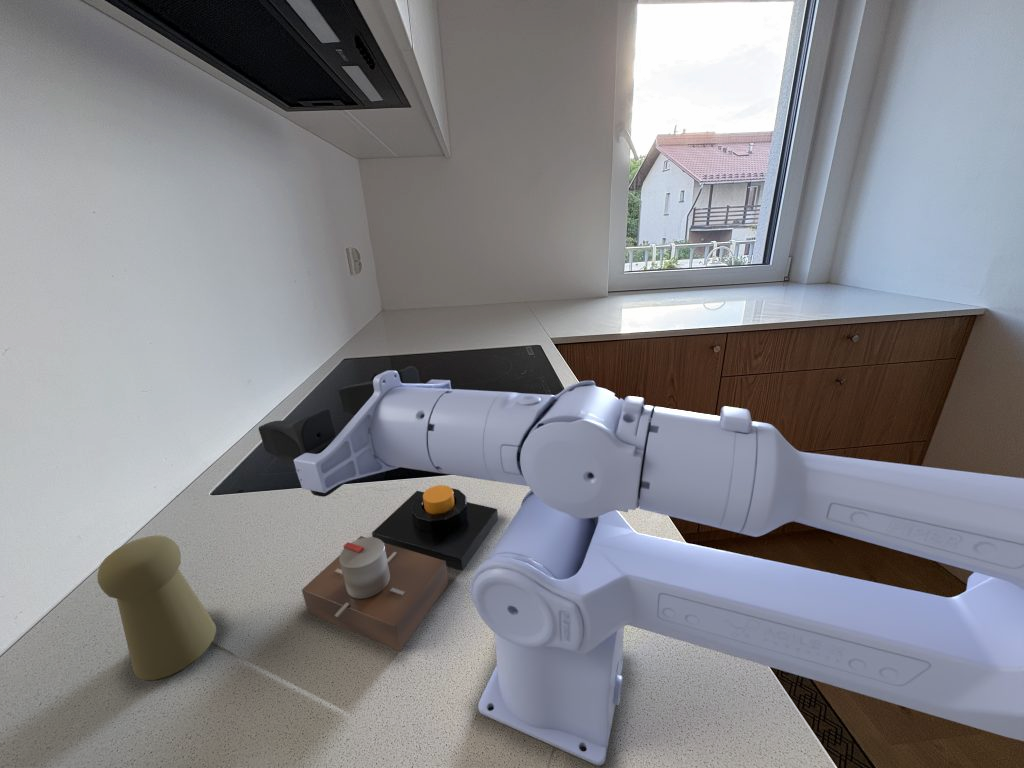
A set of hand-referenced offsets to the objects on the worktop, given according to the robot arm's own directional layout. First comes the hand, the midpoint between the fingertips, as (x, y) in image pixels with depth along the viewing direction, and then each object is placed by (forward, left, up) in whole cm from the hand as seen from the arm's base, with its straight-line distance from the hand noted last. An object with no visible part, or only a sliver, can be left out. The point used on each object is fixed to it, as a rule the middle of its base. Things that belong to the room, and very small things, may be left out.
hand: (308, 416), depth 34 cm
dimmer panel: (-2, -2, -21) cm, 21 cm away
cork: (+12, +9, -21) cm, 26 cm away
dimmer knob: (-2, -1, -17) cm, 18 cm away
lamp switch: (-2, -12, -21) cm, 24 cm away
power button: (-2, -13, -17) cm, 22 cm away
